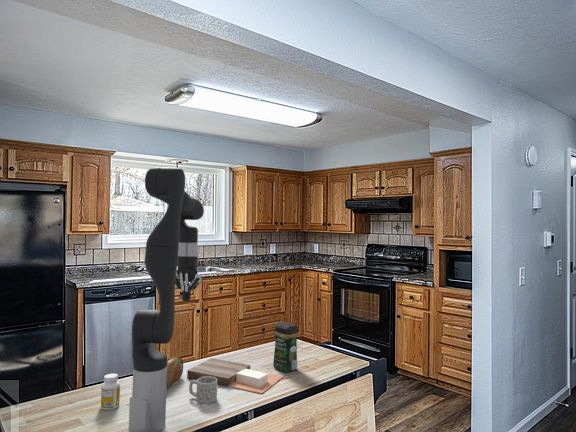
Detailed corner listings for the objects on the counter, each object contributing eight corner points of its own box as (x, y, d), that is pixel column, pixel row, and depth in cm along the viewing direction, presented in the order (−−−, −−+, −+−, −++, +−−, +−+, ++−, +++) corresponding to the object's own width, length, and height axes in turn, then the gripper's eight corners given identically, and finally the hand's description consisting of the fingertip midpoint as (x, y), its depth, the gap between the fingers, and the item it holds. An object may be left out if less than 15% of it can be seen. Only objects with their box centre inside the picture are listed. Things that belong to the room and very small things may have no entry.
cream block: (258, 387, 152) (259, 378, 152) (236, 381, 157) (236, 373, 157) (267, 382, 157) (268, 373, 157) (245, 376, 162) (245, 368, 162)
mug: (220, 398, 143) (221, 378, 143) (210, 406, 137) (210, 385, 137) (194, 393, 147) (195, 373, 147) (183, 400, 140) (184, 380, 140)
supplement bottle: (113, 401, 138) (114, 371, 138) (122, 406, 135) (123, 375, 135) (97, 406, 134) (98, 375, 134) (106, 412, 131) (107, 380, 131)
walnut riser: (228, 386, 153) (228, 378, 153) (187, 378, 160) (187, 370, 160) (250, 372, 167) (250, 365, 168) (211, 365, 175) (211, 358, 175)
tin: (164, 392, 147) (165, 367, 147) (156, 391, 148) (156, 366, 148) (183, 376, 162) (184, 354, 162) (176, 375, 162) (176, 353, 162)
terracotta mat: (261, 394, 147) (261, 392, 147) (228, 386, 153) (228, 385, 153) (283, 377, 164) (283, 376, 164) (252, 371, 169) (252, 370, 169)
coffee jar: (269, 367, 174) (271, 322, 174) (283, 363, 180) (284, 319, 180) (286, 374, 167) (288, 326, 167) (300, 369, 173) (301, 323, 173)
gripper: (166, 254, 158) (165, 301, 158) (196, 256, 153) (194, 304, 153) (179, 253, 165) (178, 298, 165) (208, 255, 160) (206, 301, 160)
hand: (186, 301), depth 159 cm, fingers closed
